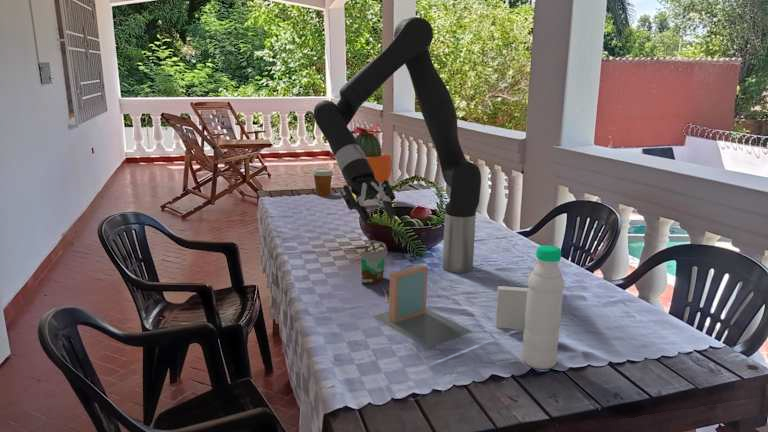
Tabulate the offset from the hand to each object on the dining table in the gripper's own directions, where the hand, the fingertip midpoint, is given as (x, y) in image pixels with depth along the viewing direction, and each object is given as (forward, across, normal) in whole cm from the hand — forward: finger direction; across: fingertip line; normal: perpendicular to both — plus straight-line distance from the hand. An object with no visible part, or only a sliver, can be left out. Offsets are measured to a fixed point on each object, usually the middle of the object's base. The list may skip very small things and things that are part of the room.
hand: (380, 218), depth 140 cm
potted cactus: (-51, +65, +83) cm, 117 cm away
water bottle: (+47, +8, -15) cm, 50 cm away
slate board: (+28, 0, +4) cm, 28 cm away
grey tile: (+37, +16, -6) cm, 41 cm away
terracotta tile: (+24, 0, +8) cm, 25 cm away
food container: (+6, +9, +26) cm, 28 cm away
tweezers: (+13, +6, +20) cm, 25 cm away
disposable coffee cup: (-68, +56, +100) cm, 134 cm away
